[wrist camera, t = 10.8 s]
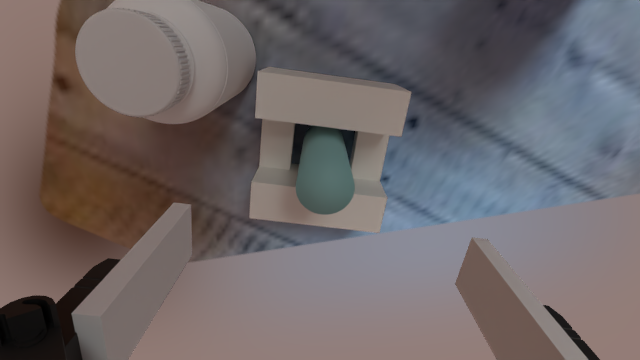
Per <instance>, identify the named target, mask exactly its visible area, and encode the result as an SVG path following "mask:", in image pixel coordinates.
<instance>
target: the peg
mask: <svg viewBox="0 0 640 360" xmlns="http://www.w3.org/2000/svg"><path fill="white" fill-rule="evenodd" d="M354 191H355V184H354V179H353V175H352V171H351V167H350V163H349V159H348V155H347V151H346V147H345V143H344V139H343V136H342V133H341V131H340V130H339V129H337V128H329V127H321V126H314V125H312V126H311V127H309V129H308V130H307V131H306V133H305V136H304V141H303V147H302V152H301V158H300V164H299V169H298V175H297V181H296V194H297V197H298V199H299V201H300V203H301V204H302V205H303V206H304V207H305V208H306V209H308V210H309V211H311V212H313V213H317V214H322V215H328V214H333V213H337V212H339V211H341V210H342V209H344V208H345V207H346V206H347V205H348V204H349V203H350V201H351V200H352V198H353V195H354Z"/></svg>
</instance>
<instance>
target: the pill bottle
mask: <svg viewBox="0 0 640 360" xmlns="http://www.w3.org/2000/svg"><path fill="white" fill-rule="evenodd" d="M75 54H76V62H77V66H78V70H79V72H80V75H81V77H82V79H83V81H84V83H85V84H86V86H87V87H88V89H89V90H90V91H91V93H92V94H93V95H94V96H95V97H96V98H97V99H98V100H99V101H100V102H102V103H103V104H104V105H106V106H107V107H108V108H110V109H112V110H114V111H116V112H118V113H121V114H123V115H126V116H131V117H137V118H139V117H141V118H146V119H148V120H151V121H154V122H159V123H164V124H184V123H188V122H192V121H195V120H197V119H199V118H201V117H203V116H205V115H207V114H208V113H210V112H211V111H213V110H214V109H216V108H217V107H219V106H220V105H222V104H223V103H225V102H227V101H228V100H230V99H231V98H233V97H234V96H236V95H237V94H239V93H240V92H241V91H243V90H244V89H245V87H246V86H247V85H248V83H249V82H250V80H251V78H252V76H253V74H254V70H255V66H256V51H255V46H254V43H253V40H252V38H251V36H250V34H249V32H248V30H247V29H246V27H245V26H244V25H243V24H242V23H241V21H240V20H238V19H237V18H236V17H235V16H234V15H232V14H231V13H229V12H228V11H226V10H224V9H221V8H219V7H216V6H213V5H210V4H207V3H205V2H202V1H199V0H115V1H114V2H113V3H111V4H110V5H109V6H108V8H107V9H104V10H103V11H99V12H98V13H95V14H94V15H93V16H91V17H90V18H89V19H87V20H86V22H85V23H84V24H83V26H82V27H81V29H80V32H79V34H78V37H77V41H76V48H75Z"/></svg>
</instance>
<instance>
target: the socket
mask: <svg viewBox="0 0 640 360" xmlns="http://www.w3.org/2000/svg"><path fill="white" fill-rule="evenodd" d="M410 97H411V92H410V91H408V90H406V89H404V88H402V87H400V86H398V85H396V84H391V83H384V82H377V81H369V80H362V79H355V78H348V77H340V76H333V75H326V74H318V73H311V72H304V71H296V70H289V69H282V68H275V67H267V68H265V69H262V70H260V71H258V75H257V92H256V110H255V118H260V119H262V132H261V147H260V163H259V168H258V170H257V172H256V174H255V176H254V178H253V180H252V182H251V197H250V215H249V218H252V219H261V220H269V221H278V222H287V223H296V224H304V225H313V226H322V227H331V228H339V229H348V230H357V231H365V232H374V233H379V232H380V228H381V223H382V219H383V215H384V210H385V206H386V202H387V196H386V194H385V192H384V190H383V187H382V185H381V183H380V177H381V173H382V168H383V163H384V159H385V154H386V149H387V145H388V140H389V136H390V135H391V136H399V137H401V136H402V132H403V127H404V123H405V118H406V114H407V110H408V105H409V101H410ZM296 123H298V124H306V125H314V126H321V127H329V128H337V129H345V130H352V131H355V135H354V141H353V147H352V153H351V158H350V167H351V171H352V175H353V179H354V184H355V191H354V195H353V198H352V200H351V201H350V203H349V204H348V205H347V206H346V207H345V208H344V209H342V210H341V211H339V212H337V213H333V214H328V215H322V214H317V213H313V212H311V211H309V210H308V209H306V208H305V207H304V206H303V205H302V204H301V203H300V201H299V199H298V197H297V194H296V181H297V175H298V169H299V164H293V163H292V153H293V143H294V134H295V124H296Z"/></svg>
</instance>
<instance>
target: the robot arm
mask: <svg viewBox="0 0 640 360" xmlns="http://www.w3.org/2000/svg"><path fill="white" fill-rule="evenodd" d="M191 256H192V223H191V204H183V203H173V204H172V205H171V206H170V207H169V208H168V210H167V211H166V212H165V213H164V214H163V215H162V216H161V217H160V218H159V219H158V220H157V221H156V223H155V224H154V225H153V226H152V227H151V228H150V229H149V230H148V231H147V232H146V233H145V234H144V236H143V237H142V238H141V239H140V240H139V241H138V242H137V243H136V244H135V245H134V246H133V247H132V249H131V250H130V251H129V252H128V253H127V254H126V255H125V256H124V257H123V258H122V259H121V260H117V259H107V260H105V261H103V262H101V263H99V264H98V265H96V266H94V267H93V268H92V269H91V270H90V271H89V272H88V273H87V274H86V275H85V276H84V277H83V279H81V280H80V281H79V282H78V283H77V284H75V286H74V288H71V289H70V290H69V292H67V293H66V294H65V295H64V296H63V297H62V298H61V299H60V300H59V301H58V302H57V303H56V304H55V302H54V301H53V299H52V298H49V297H47V296H30V297H25V298H21V299H18V300H16V301H13V302H10V303H9V304H7V305H5V306H4V307H2V308H0V360H128V359H129V357H130V356H131V354H132V352H133V351H134V349H135V348H136V346H137V344H138V343H139V341H140V339H141V338H142V336H143V334H144V333H145V331H146V330H147V328H148V326H149V325H150V323H151V321H152V320H153V318H154V316H155V315H156V313H157V312H158V310H159V308H160V307H161V305H162V303H163V302H164V300H165V298H166V297H167V295H168V294H169V292H170V290H171V289H172V287H173V285H174V284H175V282H176V280H177V279H178V277H179V276H180V274H181V272H182V271H183V269H184V267H185V266H186V264H187V262H188V261H189V259H190V258H191ZM455 285H456V286H457V288H458V290H459V292H460V294H461V295H462V297H463V299H464V301H465V303H466V305H467V306H468V308H469V310H470V312H471V313H472V315H473V317H474V319H475V321H476V323H477V324H478V326H479V328H480V330H481V332H482V334H483V335H484V337H485V339H486V341H487V343H488V345H489V346H490V348H491V350H492V352H493V353H494V355H495V357H496V359H497V360H600V359H599V358H598V357H597V356H596V355H595V353H594V352H593V351H592V350H591V349H590V348H589V347H588V346H587V344H586V343H585V342H584V341H583V340H581V338H580V336H579V335H578V334H577V333H576V332H575V331H574V330H572V327H571V326H570V325H569V324H568V323H567V321H566V320H565V319H564V318H563V317H562V316H561V315H560V314H558V313H557V312H556V311H554V310H553V309H552V308H550V307H549V306H546V305H542V304H541V302H540V301H539V300H538V299H537V298H536V296H535V295H534V294H533V293H532V292H531V291H530V289H529V288H528V287H527V286H526V285H525V284H524V282H523V281H522V280H521V279H520V277H519V276H518V275H517V274H516V273H515V271H514V270H513V269H512V268H511V267H510V265H509V264H508V263H507V262H506V261H505V260H504V258H503V257H502V256H501V255H500V254H499V252H498V251H497V250H496V249H495V248H494V246H493V245H492V244H491V243H490V242H489V240H488V239H480V238H472V239H471V242H470V244H469V247H468V250H467V253H466V256H465V258H464V261H463V264H462V267H461V269H460V272H459V275H458V278H457V280H456V283H455Z"/></svg>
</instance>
